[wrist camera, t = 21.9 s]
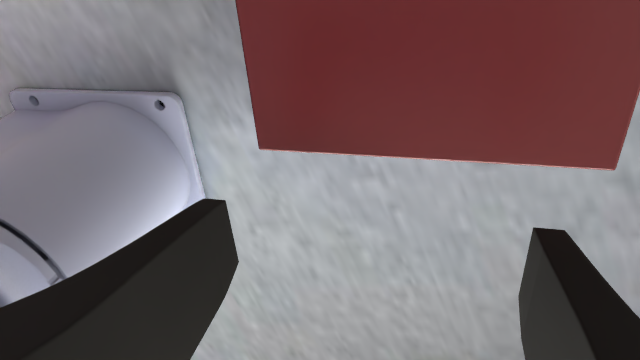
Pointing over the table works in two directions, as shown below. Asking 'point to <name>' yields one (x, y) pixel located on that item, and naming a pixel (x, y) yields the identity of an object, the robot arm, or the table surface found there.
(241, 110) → the table surface
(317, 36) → the books
